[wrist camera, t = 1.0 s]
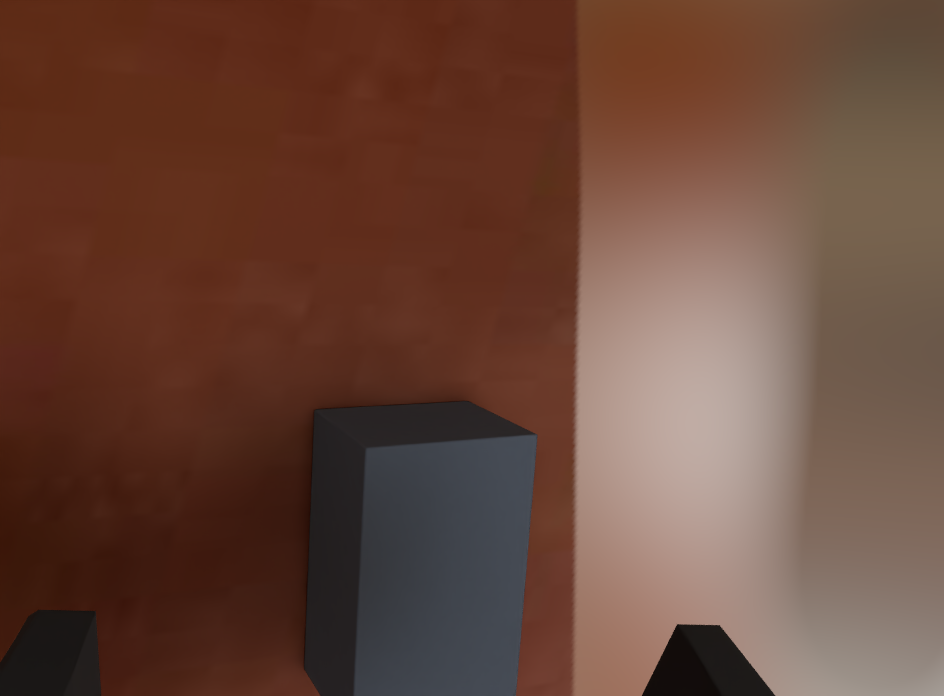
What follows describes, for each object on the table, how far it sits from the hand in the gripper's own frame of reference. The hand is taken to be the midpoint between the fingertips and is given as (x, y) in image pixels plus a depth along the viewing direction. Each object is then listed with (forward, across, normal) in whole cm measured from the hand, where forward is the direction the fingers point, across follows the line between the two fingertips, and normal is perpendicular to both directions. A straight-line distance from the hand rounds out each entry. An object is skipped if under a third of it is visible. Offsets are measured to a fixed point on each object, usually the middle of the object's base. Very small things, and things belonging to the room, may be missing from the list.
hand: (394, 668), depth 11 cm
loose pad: (+12, -2, +10) cm, 16 cm away
